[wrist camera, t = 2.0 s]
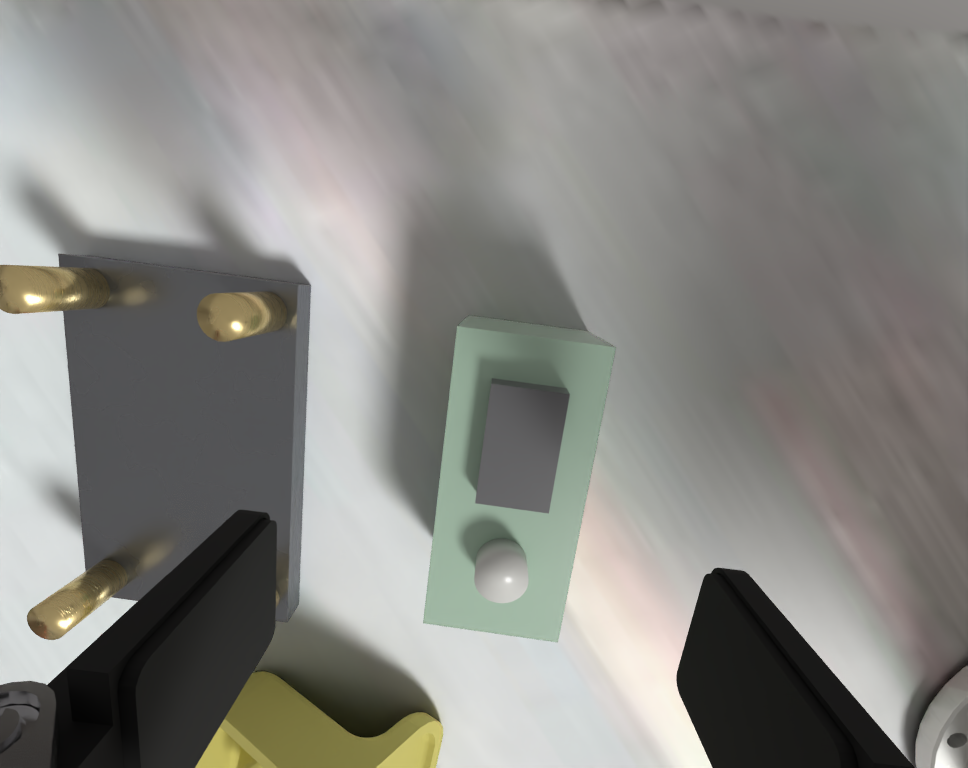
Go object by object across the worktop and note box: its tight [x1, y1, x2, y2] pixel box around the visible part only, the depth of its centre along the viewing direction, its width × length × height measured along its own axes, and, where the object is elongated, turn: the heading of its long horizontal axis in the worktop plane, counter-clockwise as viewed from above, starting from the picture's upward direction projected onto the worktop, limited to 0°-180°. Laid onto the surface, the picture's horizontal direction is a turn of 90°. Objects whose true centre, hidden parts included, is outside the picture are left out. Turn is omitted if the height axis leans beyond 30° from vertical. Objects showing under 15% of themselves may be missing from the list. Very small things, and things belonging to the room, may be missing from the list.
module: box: [423, 315, 616, 642], centre depth 17 cm, size 5×11×6 cm, turn 173°
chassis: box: [0, 254, 311, 640], centre depth 18 cm, size 10×16×4 cm, turn 173°
